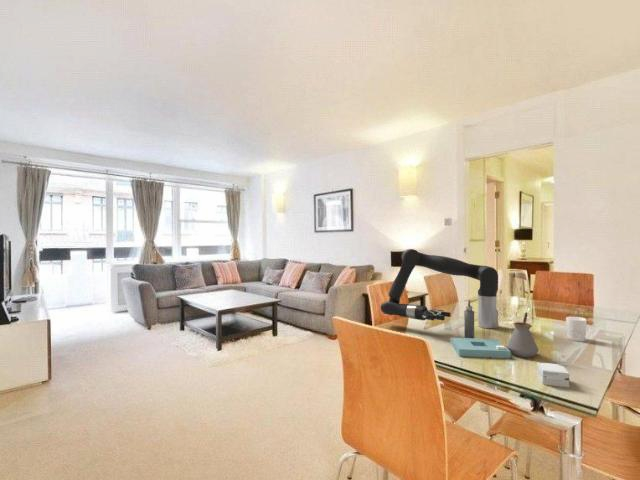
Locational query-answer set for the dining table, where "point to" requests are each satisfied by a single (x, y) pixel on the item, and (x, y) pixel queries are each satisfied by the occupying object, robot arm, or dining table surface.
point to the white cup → (576, 328)
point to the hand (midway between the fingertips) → (447, 316)
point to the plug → (469, 321)
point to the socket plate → (480, 348)
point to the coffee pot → (522, 340)
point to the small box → (553, 374)
